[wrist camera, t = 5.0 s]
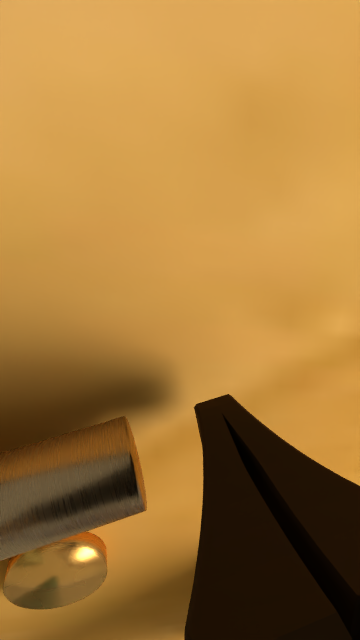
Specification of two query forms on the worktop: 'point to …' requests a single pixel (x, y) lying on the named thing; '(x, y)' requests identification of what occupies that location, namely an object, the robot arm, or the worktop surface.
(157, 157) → the worktop surface
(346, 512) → the robot arm
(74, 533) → the shaft
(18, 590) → the spacer
